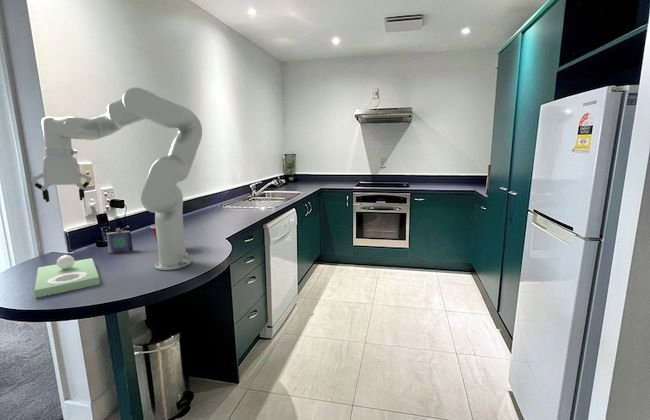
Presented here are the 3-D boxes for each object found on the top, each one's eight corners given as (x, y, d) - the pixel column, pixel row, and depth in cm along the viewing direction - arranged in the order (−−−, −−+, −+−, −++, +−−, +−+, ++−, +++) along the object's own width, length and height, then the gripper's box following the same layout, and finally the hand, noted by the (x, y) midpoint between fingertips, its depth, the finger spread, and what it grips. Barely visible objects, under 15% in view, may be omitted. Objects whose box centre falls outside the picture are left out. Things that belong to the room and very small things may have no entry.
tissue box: (39, 274, 118) (37, 267, 117) (92, 264, 128) (92, 257, 127) (36, 298, 98) (34, 289, 97) (100, 284, 108) (98, 276, 107)
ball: (78, 267, 117) (76, 254, 116) (63, 272, 112) (61, 258, 111) (69, 265, 118) (67, 252, 118) (54, 270, 114) (52, 256, 113)
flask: (108, 253, 141) (104, 229, 139) (110, 252, 144) (107, 228, 142) (132, 251, 144) (129, 228, 142) (133, 249, 146) (131, 226, 145)
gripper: (89, 153, 124) (93, 198, 127) (28, 152, 114) (35, 200, 117) (89, 153, 118) (93, 200, 121) (24, 152, 108) (31, 203, 111)
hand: (64, 200), depth 119 cm, fingers open, 9 cm apart
